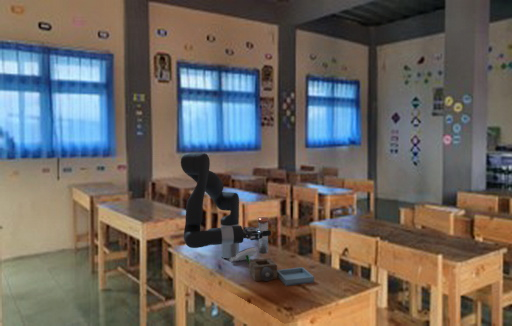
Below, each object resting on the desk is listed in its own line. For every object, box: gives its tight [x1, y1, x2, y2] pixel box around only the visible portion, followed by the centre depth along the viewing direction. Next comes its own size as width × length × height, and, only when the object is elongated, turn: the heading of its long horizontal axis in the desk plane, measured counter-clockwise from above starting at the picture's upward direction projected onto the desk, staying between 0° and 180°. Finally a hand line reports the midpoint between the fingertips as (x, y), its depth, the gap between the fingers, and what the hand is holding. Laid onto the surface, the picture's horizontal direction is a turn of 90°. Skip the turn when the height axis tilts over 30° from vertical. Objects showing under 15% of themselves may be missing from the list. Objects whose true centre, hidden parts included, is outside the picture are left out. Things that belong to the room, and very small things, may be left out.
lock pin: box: [256, 216, 269, 255], centre depth 180 cm, size 5×5×15 cm
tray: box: [277, 266, 315, 287], centre depth 177 cm, size 13×13×2 cm
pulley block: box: [248, 257, 278, 282], centre depth 181 cm, size 12×10×6 cm
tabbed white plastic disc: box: [228, 246, 258, 265], centre depth 201 cm, size 15×8×11 cm
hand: (269, 231), depth 181 cm, fingers closed on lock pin, 4 cm apart
